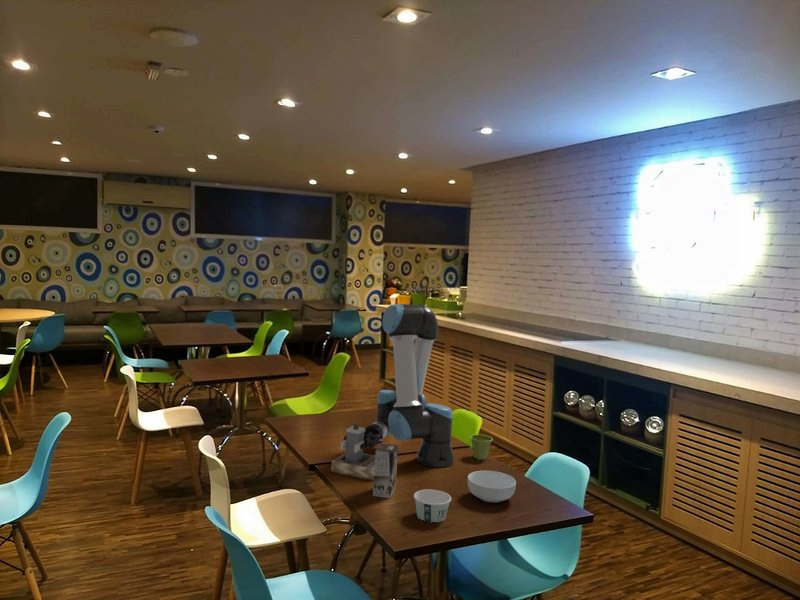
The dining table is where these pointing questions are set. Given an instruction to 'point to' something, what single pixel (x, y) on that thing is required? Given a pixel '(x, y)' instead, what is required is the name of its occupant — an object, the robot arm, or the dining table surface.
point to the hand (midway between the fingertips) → (348, 447)
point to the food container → (432, 505)
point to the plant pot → (481, 446)
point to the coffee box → (385, 470)
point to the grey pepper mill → (354, 443)
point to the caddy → (355, 467)
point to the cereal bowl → (491, 485)
